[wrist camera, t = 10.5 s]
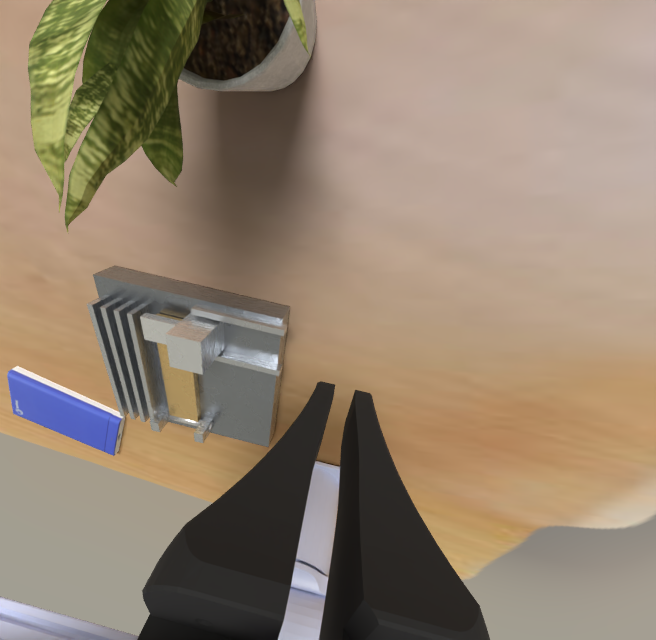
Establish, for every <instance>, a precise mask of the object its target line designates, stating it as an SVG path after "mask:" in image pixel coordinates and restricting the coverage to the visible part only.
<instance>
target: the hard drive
mask: <svg viewBox="0 0 656 640" xmlns="http://www.w3.org/2000/svg"><path fill="white" fill-rule="evenodd" d="M7 377H8V383H9V390H10V396H11V402H12V408H13V413H14V414H16V415H18V416H20V417H23V418H25V419H27V420H30V421H32V422H35V423H37V424H39V425H42V426H44V427H46V428H49V429H51V430H54V431H56V432H59V433H61V434H63V435H65V436H68V437H70V438H73V439H75V440H77V441H80V442H82V443H84V444H87V445H89V446H92V447H94V448H96V449H99V450H101V451H104V452H106V453H108V454H111V455H113V456H115V454H116V453H117V452H118V451H119V448H120V442H121V437H122V432H123V427H124V421H125V417H123V416H121V415H120V412H118V411H115V410H113V409H111V408H109V407H107V406H105V405H102V404H100V403H98V402H96V401H94V400H91V399H89V398H87V397H85V396H83V395H80V394H78V393H76V392H74V391H72V390H69V389H67V388H65V387H63V386H60V385H58V384H56V383H54V382H52V381H49V380H47V379H45V378H43V377H41V376H38V375H36V374H34V373H32V372H30V371H27V370H25V369H23V368H21V367H19V366H16V367H14V368H13V369H11V370H10V371H9V372H8V375H7Z"/></svg>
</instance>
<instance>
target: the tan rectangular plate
mask: <svg viewBox="0 0 656 640" xmlns="http://www.w3.org/2000/svg"><path fill="white" fill-rule="evenodd" d="M156 315H158V316H162V317H166V318H170V319H174V320H179V321H181V320H182V319H180V318H176V317H171V316H167V315H163V314H159V313H157V314H156ZM157 346H158V351H159V357H160V362H161V368H162V374H163V379H164V385H165V391H166V396H167V402H168V408H169V413H170V415H172V416H176V417H180V418H184V419H188V420H192V421H196V422H199V420H200V419H201V406H200V395H199V384H198V373H194V372H190V371H186V370H181V369H177V368H173V367H170V364H169V357H168V350H167V345H165V344H161V343H157Z"/></svg>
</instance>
